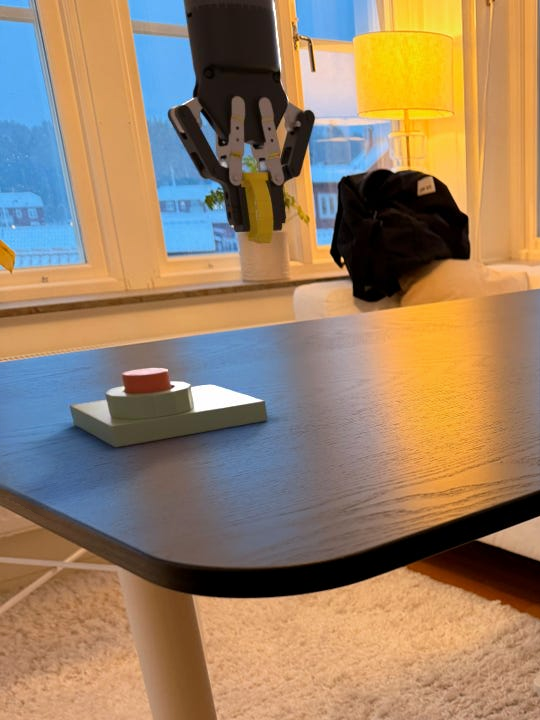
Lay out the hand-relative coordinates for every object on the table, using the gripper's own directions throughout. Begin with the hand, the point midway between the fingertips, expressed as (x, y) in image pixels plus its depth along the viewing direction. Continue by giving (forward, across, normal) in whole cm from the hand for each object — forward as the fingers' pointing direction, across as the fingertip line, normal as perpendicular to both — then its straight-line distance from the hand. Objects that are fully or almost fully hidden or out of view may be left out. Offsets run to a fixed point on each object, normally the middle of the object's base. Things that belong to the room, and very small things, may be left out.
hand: (258, 230), depth 83 cm
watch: (+1, 0, 0) cm, 1 cm away
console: (+15, +14, +7) cm, 21 cm away
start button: (+12, +16, +9) cm, 22 cm away
